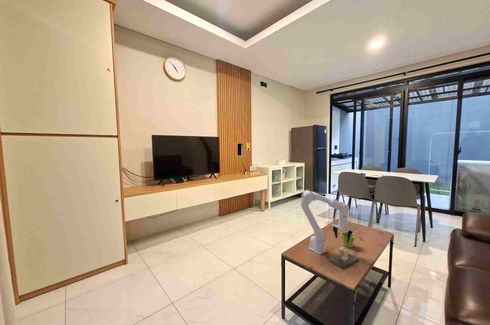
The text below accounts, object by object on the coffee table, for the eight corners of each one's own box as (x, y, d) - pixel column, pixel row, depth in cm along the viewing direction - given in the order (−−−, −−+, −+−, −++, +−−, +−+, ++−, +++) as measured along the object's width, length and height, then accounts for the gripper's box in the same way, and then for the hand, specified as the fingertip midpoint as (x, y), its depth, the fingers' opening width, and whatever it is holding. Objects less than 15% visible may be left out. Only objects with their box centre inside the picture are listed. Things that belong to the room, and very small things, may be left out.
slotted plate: (328, 260, 134) (328, 258, 134) (344, 253, 143) (344, 251, 143) (342, 269, 126) (342, 266, 126) (358, 260, 134) (358, 258, 134)
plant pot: (356, 245, 154) (357, 234, 153) (352, 250, 147) (353, 239, 146) (343, 241, 160) (343, 230, 159) (339, 246, 153) (339, 235, 152)
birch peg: (338, 260, 135) (338, 248, 134) (342, 258, 137) (342, 247, 136) (344, 263, 131) (344, 251, 131) (347, 261, 134) (348, 249, 133)
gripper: (330, 220, 144) (329, 238, 145) (353, 225, 135) (352, 244, 136) (333, 217, 149) (332, 235, 151) (355, 221, 140) (354, 240, 142)
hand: (342, 239), depth 144 cm, fingers open, 7 cm apart
